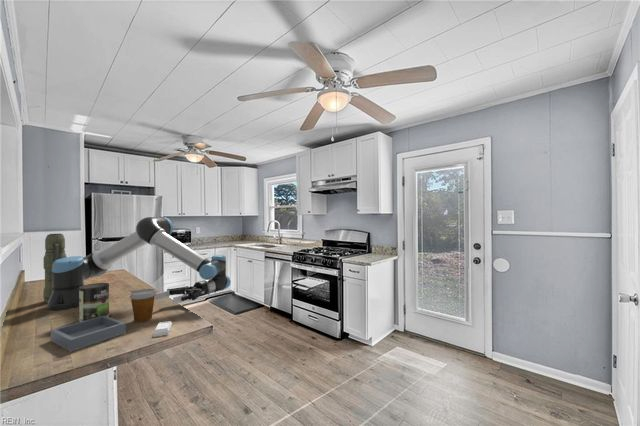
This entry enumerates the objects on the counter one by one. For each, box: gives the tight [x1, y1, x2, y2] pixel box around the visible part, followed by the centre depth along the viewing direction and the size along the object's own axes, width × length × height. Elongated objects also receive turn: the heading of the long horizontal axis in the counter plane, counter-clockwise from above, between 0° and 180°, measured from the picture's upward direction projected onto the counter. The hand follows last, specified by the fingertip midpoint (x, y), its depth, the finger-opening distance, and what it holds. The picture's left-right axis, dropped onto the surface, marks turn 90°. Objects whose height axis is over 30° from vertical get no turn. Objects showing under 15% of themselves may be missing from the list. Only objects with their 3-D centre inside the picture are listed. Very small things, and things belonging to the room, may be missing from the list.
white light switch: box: [152, 320, 173, 338], centre depth 107 cm, size 5×9×3 cm, turn 20°
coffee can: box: [78, 282, 110, 322], centre depth 122 cm, size 10×10×14 cm
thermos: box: [42, 233, 68, 304], centre depth 147 cm, size 9×12×35 cm
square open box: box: [50, 316, 127, 352], centre depth 103 cm, size 16×16×4 cm
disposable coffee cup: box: [129, 288, 157, 323], centre depth 119 cm, size 10×10×12 cm
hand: (164, 298), depth 127 cm, fingers open, 13 cm apart
